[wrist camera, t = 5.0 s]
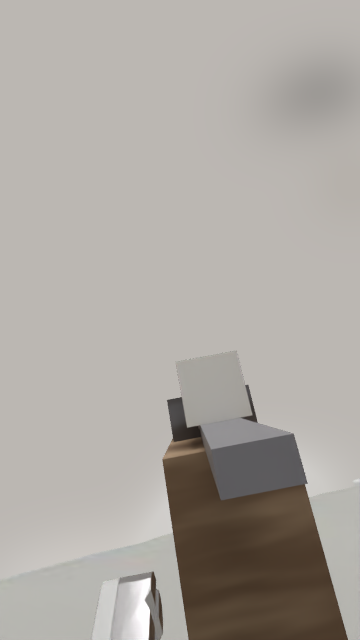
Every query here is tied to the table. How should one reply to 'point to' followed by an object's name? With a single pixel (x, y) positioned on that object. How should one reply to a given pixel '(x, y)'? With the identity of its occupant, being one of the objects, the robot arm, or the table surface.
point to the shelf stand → (245, 552)
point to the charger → (235, 430)
